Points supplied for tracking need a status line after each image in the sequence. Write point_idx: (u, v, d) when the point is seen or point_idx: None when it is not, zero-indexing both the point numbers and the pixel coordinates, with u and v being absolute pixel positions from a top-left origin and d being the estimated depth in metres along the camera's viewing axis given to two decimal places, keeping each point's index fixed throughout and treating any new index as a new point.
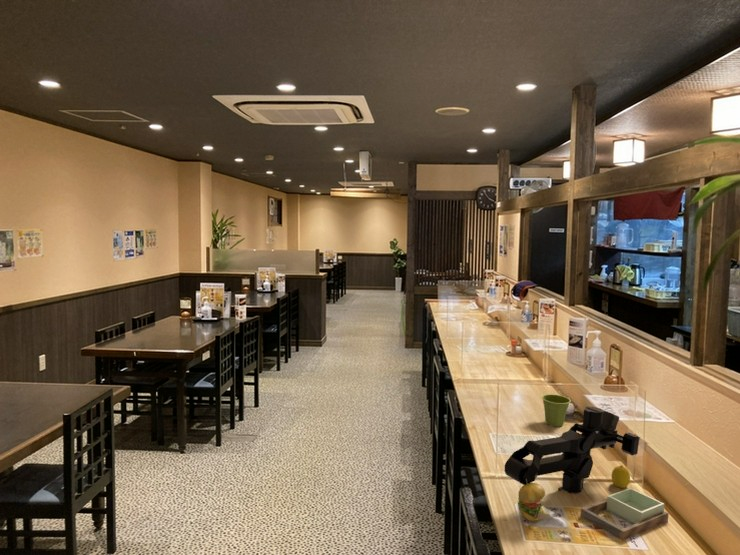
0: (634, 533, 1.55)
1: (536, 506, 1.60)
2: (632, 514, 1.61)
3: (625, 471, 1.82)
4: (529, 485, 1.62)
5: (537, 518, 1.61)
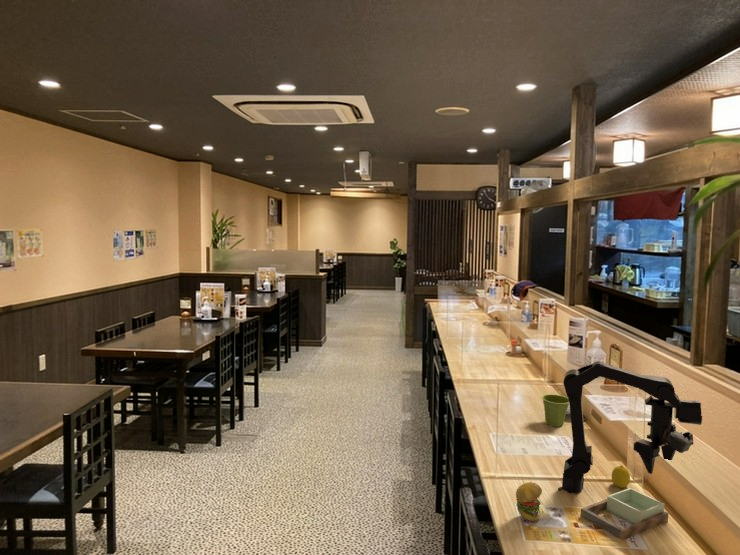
0: (634, 533, 1.55)
1: (534, 505, 1.61)
2: (632, 514, 1.61)
3: (625, 471, 1.82)
4: (525, 484, 1.63)
5: (536, 517, 1.61)
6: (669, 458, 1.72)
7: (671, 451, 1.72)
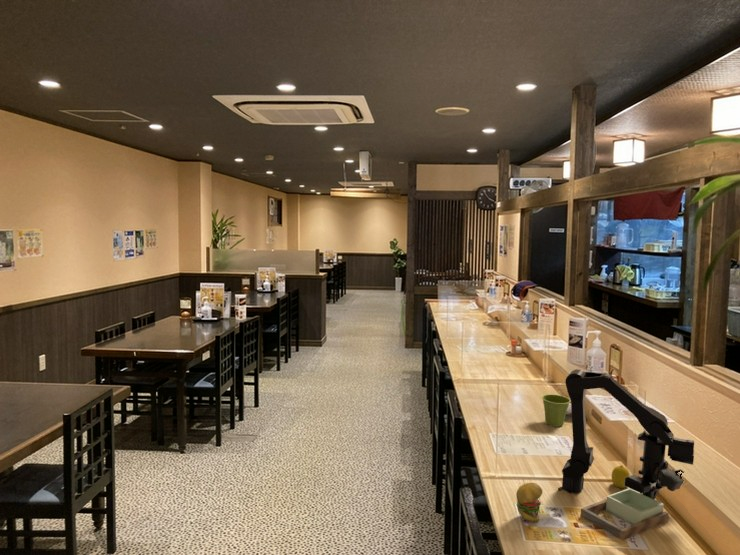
0: (634, 533, 1.55)
1: (534, 505, 1.61)
2: (631, 515, 1.60)
3: (625, 471, 1.82)
4: (526, 485, 1.63)
5: (537, 518, 1.61)
6: (652, 497, 1.69)
7: (654, 491, 1.69)
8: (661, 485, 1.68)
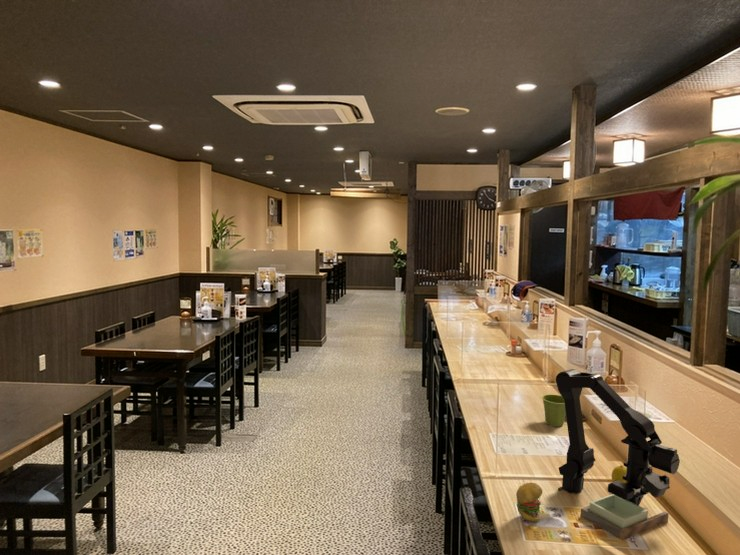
0: (634, 533, 1.55)
1: (534, 505, 1.61)
2: (614, 522, 1.56)
3: (625, 471, 1.82)
4: (526, 485, 1.63)
5: (537, 518, 1.61)
6: (636, 503, 1.65)
7: (639, 496, 1.65)
8: (645, 491, 1.64)
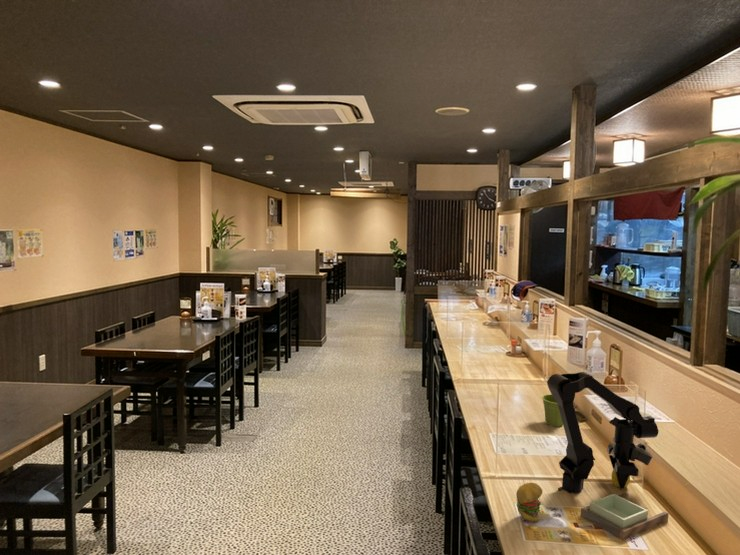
0: (634, 533, 1.55)
1: (534, 505, 1.61)
2: (614, 522, 1.56)
3: None
4: (526, 485, 1.63)
5: (537, 518, 1.61)
6: None
7: None
8: None
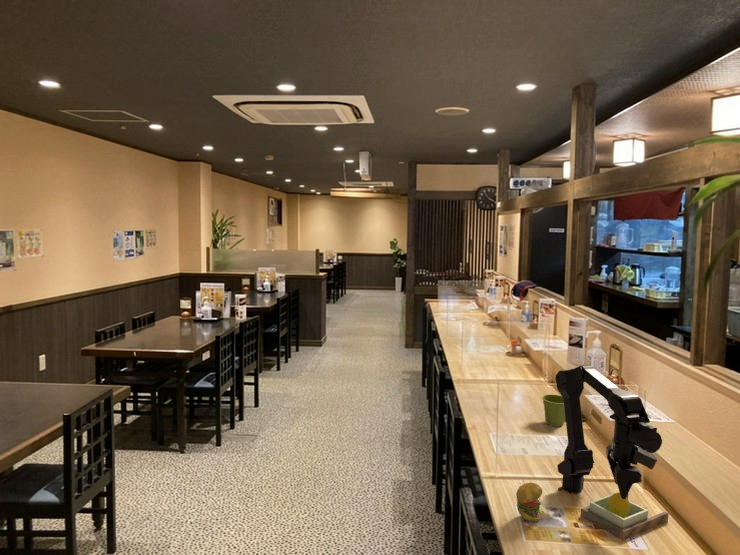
0: (634, 533, 1.55)
1: (534, 505, 1.61)
2: (614, 522, 1.56)
3: (624, 499, 1.59)
4: (526, 485, 1.63)
5: (537, 518, 1.61)
6: None
7: None
8: None
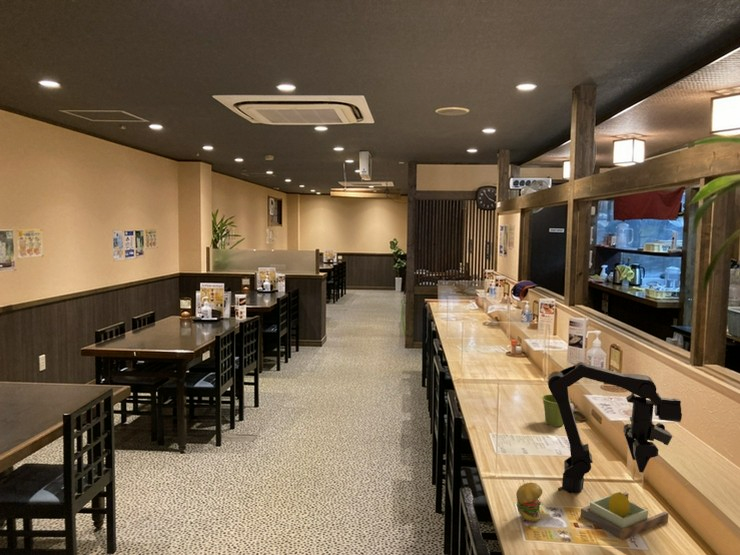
0: (634, 533, 1.55)
1: (534, 505, 1.61)
2: (614, 522, 1.56)
3: (624, 499, 1.59)
4: (526, 485, 1.63)
5: (537, 518, 1.61)
6: None
7: None
8: None
